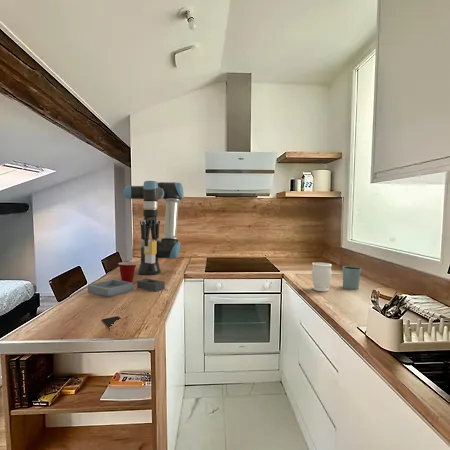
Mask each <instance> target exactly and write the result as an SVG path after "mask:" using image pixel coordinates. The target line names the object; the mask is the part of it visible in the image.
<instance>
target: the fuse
mask: <svg viewBox="0 0 450 450" xmlns="http://www.w3.org/2000/svg"><path fill="white" fill-rule="evenodd" d="M144 254H145V263H151V264H152V263H155V254H157V241H150V252H145V246H144Z"/></svg>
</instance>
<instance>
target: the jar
mask: <svg viewBox="0 0 450 450" xmlns="http://www.w3.org/2000/svg"><path fill="white" fill-rule="evenodd" d="M311 265H312V270H311V278H312V284H313V290H314V291H318V292H329V290H330V288H329V287H330V286H331V285H330V284H331V280H332V266H333V265H332V264H331V263H328V262H321V261H320V262H319V261H317V262H312V264H311Z"/></svg>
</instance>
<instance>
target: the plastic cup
mask: <svg viewBox="0 0 450 450" xmlns="http://www.w3.org/2000/svg"><path fill="white" fill-rule="evenodd" d="M137 264H138V263H137V262H132V261H131V262H128V261H126V262H125V261H122V262H118V264H117V265H118V268H119V272H120V278H121V281H126V282H131V283H133V281H134V276H135V270H136V267H137Z"/></svg>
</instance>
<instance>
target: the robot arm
mask: <svg viewBox="0 0 450 450" xmlns="http://www.w3.org/2000/svg"><path fill="white" fill-rule="evenodd" d="M123 197H124V198H125V199H128V200H143V205H142V206H143V215H142V216H143V217H144V218H143V220H140V221H139V224H140V239H141V240H142V241H141V243H140V264H139V267H138V270H137V272H138V273H137V274H138V275H142V276H154V275H159V274H161V272H162V271H161V267H160V263H159V259H177V258H178V257H179V255H180V252H181V245H182V244H181V241H179V239H178V236H177V234H178V233H177V231H178V217H179V215H178V214H179V205H180V203H181V201H182V200H183V199H184V197H185V194H184V188H183V185H182V183H181V182H164V181H163V182H162V181H160V182H158V181H156V180H145V181H144V182H143V185H126V186H125V187H124V189H123ZM161 199H163V200H164V202H165V213H164V214H165V216H164V229H163V236H162V237H161V240H160V241H159V237H160V225H161V221H160V220H158V219H157V217H158V208H159V206H158V205H159V204H158V202H159V201H158V200H161ZM150 234H151V239H150ZM150 241H157V254H155V263H152V264H151V263H145V254H144V246H145V252H150Z"/></svg>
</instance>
